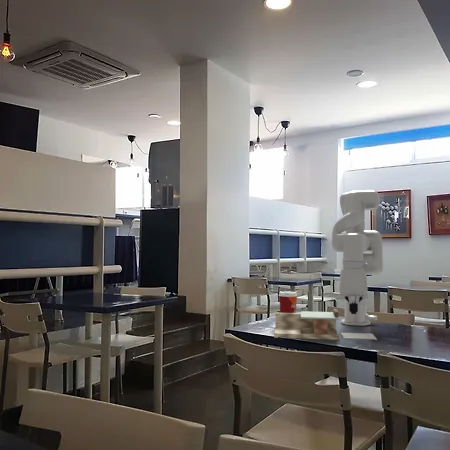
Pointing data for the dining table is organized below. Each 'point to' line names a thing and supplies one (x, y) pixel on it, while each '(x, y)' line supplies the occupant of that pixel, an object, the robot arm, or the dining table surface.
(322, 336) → the wooden box
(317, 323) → the terracotta block
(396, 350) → the dining table surface
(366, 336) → the grey mat
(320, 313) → the sliding lid
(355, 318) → the robot arm
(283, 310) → the coffee cup
